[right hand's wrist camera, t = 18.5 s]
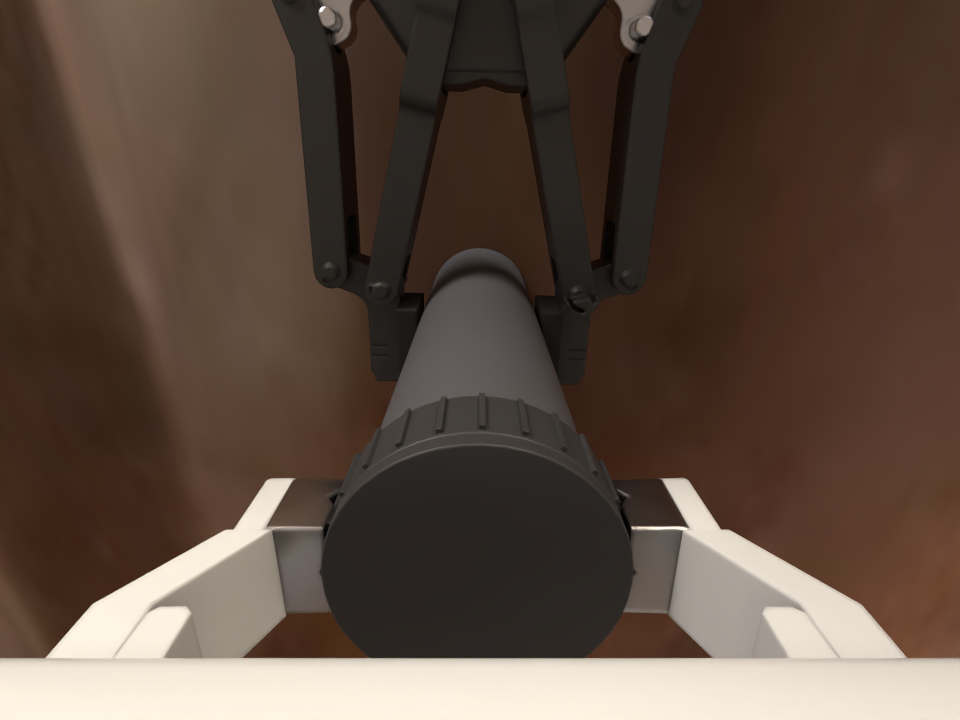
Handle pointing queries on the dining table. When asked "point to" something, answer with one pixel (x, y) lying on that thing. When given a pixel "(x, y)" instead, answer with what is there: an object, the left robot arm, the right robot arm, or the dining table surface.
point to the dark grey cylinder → (478, 341)
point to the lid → (477, 537)
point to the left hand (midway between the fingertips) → (476, 446)
